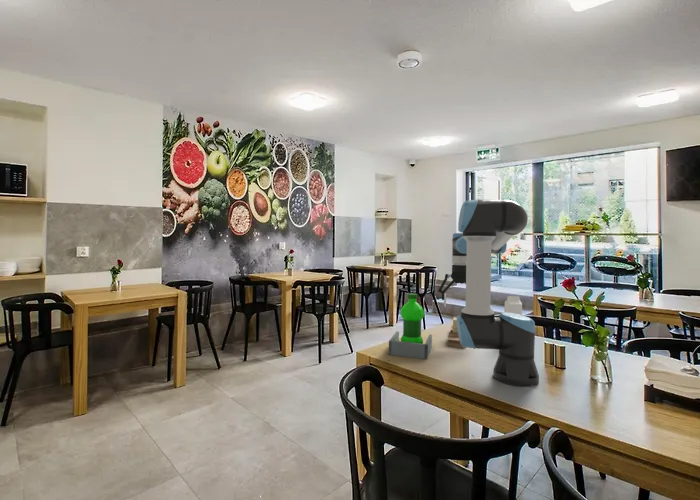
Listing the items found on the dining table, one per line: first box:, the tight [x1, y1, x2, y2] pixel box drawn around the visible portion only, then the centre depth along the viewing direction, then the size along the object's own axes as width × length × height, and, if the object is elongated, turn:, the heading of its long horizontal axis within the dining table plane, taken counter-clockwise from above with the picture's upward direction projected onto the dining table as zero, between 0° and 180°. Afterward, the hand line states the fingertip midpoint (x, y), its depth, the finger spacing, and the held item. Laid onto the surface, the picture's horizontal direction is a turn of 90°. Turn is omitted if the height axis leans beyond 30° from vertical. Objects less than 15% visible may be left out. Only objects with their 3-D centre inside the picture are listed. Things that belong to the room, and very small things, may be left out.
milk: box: [503, 295, 523, 315], centre depth 180 cm, size 6×6×22 cm
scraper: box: [447, 316, 466, 349], centre depth 185 cm, size 28×8×10 cm, turn 161°
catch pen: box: [388, 331, 433, 360], centre depth 165 cm, size 16×16×6 cm
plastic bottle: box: [400, 293, 425, 344], centre depth 167 cm, size 10×10×25 cm
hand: (459, 307), depth 184 cm, fingers open, 13 cm apart
